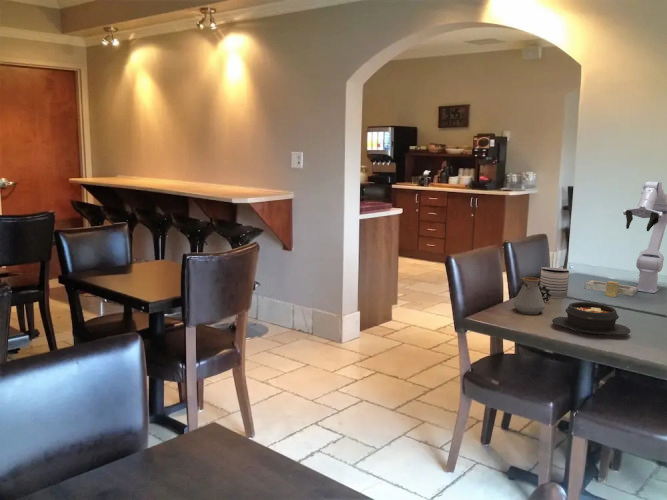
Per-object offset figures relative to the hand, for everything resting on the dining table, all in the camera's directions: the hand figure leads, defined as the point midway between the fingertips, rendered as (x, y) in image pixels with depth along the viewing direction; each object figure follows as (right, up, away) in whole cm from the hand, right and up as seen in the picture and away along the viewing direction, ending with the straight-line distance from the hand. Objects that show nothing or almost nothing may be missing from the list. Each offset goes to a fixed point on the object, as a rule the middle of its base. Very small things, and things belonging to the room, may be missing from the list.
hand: (637, 228), depth 245 cm
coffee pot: (-52, -33, -19) cm, 64 cm away
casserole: (-35, -37, -37) cm, 63 cm away
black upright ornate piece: (-42, -31, -2) cm, 52 cm away
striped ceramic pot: (-30, -28, +13) cm, 43 cm away
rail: (0, -27, +24) cm, 36 cm away
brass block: (-4, -28, +15) cm, 32 cm away
